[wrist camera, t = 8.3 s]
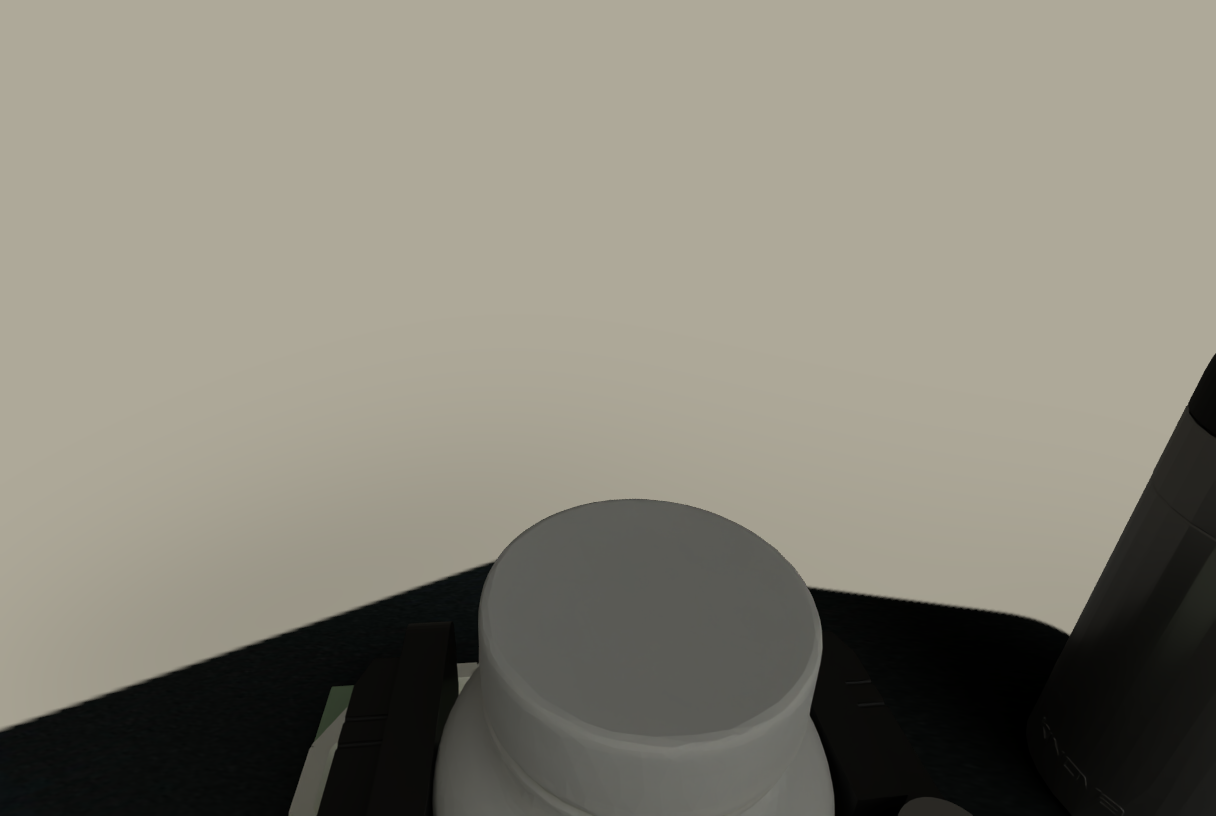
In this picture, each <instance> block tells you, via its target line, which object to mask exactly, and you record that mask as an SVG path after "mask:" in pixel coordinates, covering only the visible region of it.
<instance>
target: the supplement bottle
mask: <svg viewBox="0 0 1216 816" xmlns="http://www.w3.org/2000/svg"><path fill="white" fill-rule="evenodd" d="M478 633H479V665H480V666H479V667H478V668H477V669H476V670H475V671H474V673H473V674H472V675H471V677H470V678H469V680H468V681H467V682H466V684H465V685H464V687H463V689H462V691H461V693H460V694H459V696H458V698H457V700H456V702H455V704H454V706H453V708H452V709H451V711H450V714H449V716H448V719H447V721H446V724H445V726H444V729H443V733H442V736H441V740H440V743H439V746H438V751H437V757H436V762H435V769H434V777H433V794H432V808H433V816H835V808H834V792H833V785H832V780H831V775H830V770H829V765H828V761H827V758H826V755H825V752H824V749H823V746H822V743H821V740H820V737H819V734H818V732H817V730H816V728H815V725H814V723H813V721H812V719H811V717H810V708H811V703H812V699H813V694H814V690H815V685H816V681H817V676H818V672H819V667H820V662H821V655H822V649H823V647H822V629H821V623H820V618H819V614H818V611H817V608H816V605H815V602H814V600H813V597H812V595H811V593H810V591H809V590H808V588H807V586H806V584H805V582H804V581H803V579H802V578H801V576H800V575H799V574H798V572H797V571H796V570H795V568H794V567H793V566H792V565H791V564H790V563H789V562H788V561H787V560H786V559H785V558H784V557H783V556H782V555H781V554H780V553H779V552H778V551H777V550H776V549H775V548H774V547H772V546H771V545H770V544H768V543H767V542H766V541H764V540H763V539H762V538H760V537H759V536H757V535H756V534H755V533H753V532H752V531H750V530H748V529H746V528H744V527H743V526H741V525H739V524H737V523H735V522H733V521H731V520H728V519H726V518H724V517H722V516H720V515H717V514H714V513H712V512H709V511H706V510H703V509H699V508H696V507H692V506H688V505H683V504H678V503H672V502H666V501H656V500H647V499H622V500H608V501H601V502H594V503H589V504H585V505H580V506H577V507H573V508H570V509H567V510H564V511H561V512H559V513H556V514H554V515H551V516H549V517H547V518H545V519H543V520H541V521H540V522H538V523H536V524H535V525H533V526H531V527H530V528H528V529H527V530H525V531H524V532H523V533H521V534H520V535H519V536H518V537H517V538H516V539H514V540H513V541H512V542H511V543H510V544H509V545H508V546H507V547H506V548H505V549H504V551H503V552H502V553H501V555H500V556H499V557H498V559H497V560H496V561H495V563H494V565H493V567H492V568H491V570H490V572H489V574H488V576H487V578H486V581H485V583H484V587H483V590H482V594H481V598H480V605H479V617H478Z"/></svg>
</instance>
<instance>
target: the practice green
mask: <svg viewBox="0 0 1216 816" xmlns="http://www.w3.org/2000/svg"><path fill="white" fill-rule="evenodd" d="M479 666H480V665H479V664H478V665H477V662H476V663H460V664H457V670H458V682H459V694H460V693H461V691H462V689H463V687H464V685H465V684H466V682H467V681H468V680H469V678H470V677H471V675H472V674H473V673H474V671H475V670H476V669H477V668H478V667H479ZM353 687H354V685H352V686H337V687H332V688H331V691H330V694H329V697H328V701H327V704H326V707H325V710H324V713H323V716H322V719H321V722H320V725H319V728H318V731H317V735H316V738H315V741H314V743H313V744H312V747H310V749H309V752H308V755H307V758H306V761H305V764H304V768H303V771H302V774H301V777H300V780H299V783H298V786H297V789H296V792H295V795H294V798H293V801H292V804H291V807H290V810H289V816H317V813H318V809H319V806H320V802H321V799H322V795H323V792H324V788H325V785H326V781H327V778H328V774H329V771H330V767H331V764H332V760H333V757H334V753H335V750H336V749H337V747H338V739H339V736H340V732H341V729H342V725H343V723H344V722H345V715H346V711H347V708H348V704H349V701H350V697H351V694H352V690H353Z"/></svg>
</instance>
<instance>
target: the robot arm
mask: <svg viewBox="0 0 1216 816" xmlns="http://www.w3.org/2000/svg"><path fill="white" fill-rule="evenodd" d="M822 647H823V649H822V655H821V662H820V667H819V672H818V676H817V681H816V685H815V690H814V694H813V699H812V703H811V708H810V717H811V719H812V721H813V723H814V725H815V728H816V730H817V732H818V734H819V737H820V740H821V743H822V746H823V749H824V752H825V755H826V758H827V761H828V765H829V770H830V775H831V780H832V785H833V792H834V808H835V816H973V815H971V814H970V813H969V812H967V811H966V810H964V809H962V808H961V807H959V806H957V805H955V804H953V803H951V802H948V801H946V800H945V799H944V797H943V796H942V795H941V793H940V792H939V790H938V789H937V787H936V785H935V784H934V782H933V780H932V779H931V777H930V776H929V774H928V772H927V771H926V769H925V767H924V766H923V764H922V762H921V761H920V759H919V757H918V756H917V754H916V752H915V751H914V749H913V747H912V746H911V744H910V742H909V741H908V739H907V737H906V736H905V734H904V733H903V731H902V729H901V728H900V726H899V724H898V723H897V721H896V719H895V718H894V716H893V714H892V713H891V711H890V709H889V708H888V706H885V704H884V699H883V698H882V696H881V695H880V693H879V691H878V690H877V688H876V686H875V685H874V684H872V683H871V678H870V676H869V675H868V673H867V671H866V670H865V668H864V666H863V665H862V663H861V661H860V660H859V658H858V656H857V655H856V653H855V652H854V651H853V650H852V649H851V648H849V647H848V646H847V645H846V644H845V643H844V642H843V641H842V640H840V639H839V638H838V637H837V636H836V635H835V634H834V633H833V632H832V631H822ZM458 696H459V682H458V670H457V657H456V645H455V633H454V624H453V622H452V621H450V622H433V623H415V624H409V625H408V627H407V630H406V634H405V638H404V643H403V647H402V652H401V657H394V658H379V659H374V660H373V661H372V663H371V664H370V665H369V667H368V668H367V669H366V670H365V672H364V673H363V674H362V676H361V677H360V678H359V680H358V681H357V682H356V684H355V685H354V687H353V690H352V694H351V697H350V701H349V704H348V708H347V711H346V715H345V722H344V723H343V725H342V729H341V732H340V736H339V739H338V747H337V749H336V750H335V753H334V757H333V760H332V764H331V767H330V771H329V774H328V778H327V781H326V785H325V788H324V792H323V795H322V799H321V802H320V806H319V809H318V813H317V816H433V808H432V794H433V777H434V769H435V762H436V757H437V751H438V746H439V743H440V740H441V736H442V733H443V729H444V726H445V724H446V721H447V719H448V716H449V714H450V711H451V709H452V708H453V706H454V704H455V702H456V700H457V698H458ZM1026 738H1027V743H1028V748H1029V753H1030V755H1031V757H1032V759H1033V761H1034V764H1035V766H1036V768H1037V770H1038V772H1039V774H1040V775H1041V777H1042V778H1043V780H1044V781H1045V783H1046V784H1047V786H1048V787H1049V789H1050V790H1051V792H1052V793H1053V794H1054V796H1055V797H1056V798H1057V799H1058V800H1059V801H1060V802H1061V804H1062V805H1063V806H1064V807H1065V808H1066V809H1067V810H1068V812H1069V813H1070V814H1071V815H1072V816H1216V354H1215V355H1214V356H1213V358H1212V359H1211V361H1210V363H1209V364H1208V366H1207V368H1206V369H1205V371H1204V373H1203V375H1202V377H1201V379H1200V381H1199V383H1198V385H1197V387H1196V389H1195V391H1194V393H1193V395H1192V397H1191V399H1190V401H1189V403H1188V405H1187V406H1186V408H1185V410H1184V412H1183V414H1182V416H1181V418H1180V420H1179V422H1178V424H1177V426H1176V428H1175V430H1174V432H1173V434H1172V436H1171V438H1170V440H1169V442H1168V444H1167V446H1166V448H1165V450H1164V452H1163V453H1162V455H1161V457H1160V459H1159V461H1158V463H1157V465H1156V467H1155V469H1154V471H1153V474H1152V476H1151V478H1150V480H1149V482H1148V484H1147V486H1146V488H1145V490H1144V492H1143V494H1142V496H1141V498H1140V499H1139V502H1138V503H1137V505H1136V507H1135V509H1134V511H1133V513H1132V515H1131V517H1130V519H1129V521H1128V523H1127V525H1126V527H1125V529H1124V531H1123V533H1122V535H1121V537H1120V539H1119V541H1118V543H1117V545H1116V547H1115V549H1114V551H1113V553H1112V555H1111V556H1110V558H1109V560H1108V562H1107V564H1106V567H1105V568H1104V570H1103V572H1102V574H1101V576H1100V578H1099V580H1098V582H1097V584H1096V586H1095V588H1094V590H1093V592H1092V594H1091V596H1090V598H1089V600H1088V602H1087V604H1086V606H1085V608H1084V610H1083V612H1082V614H1081V615H1080V618H1079V619H1078V622H1077V623H1076V625H1075V627H1074V629H1073V631H1072V633H1071V635H1070V637H1069V639H1068V641H1067V643H1066V645H1065V647H1064V649H1063V651H1062V653H1061V655H1060V657H1059V658H1058V660H1057V662H1056V664H1055V666H1054V668H1053V670H1052V672H1051V674H1050V676H1049V678H1048V681H1047V683H1046V685H1045V687H1044V689H1043V691H1042V693H1041V695H1040V697H1039V699H1038V701H1037V703H1036V705H1035V706H1034V708H1033V710H1032V712H1031V714H1030V716H1029V718H1028V720H1027V728H1026Z"/></svg>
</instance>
